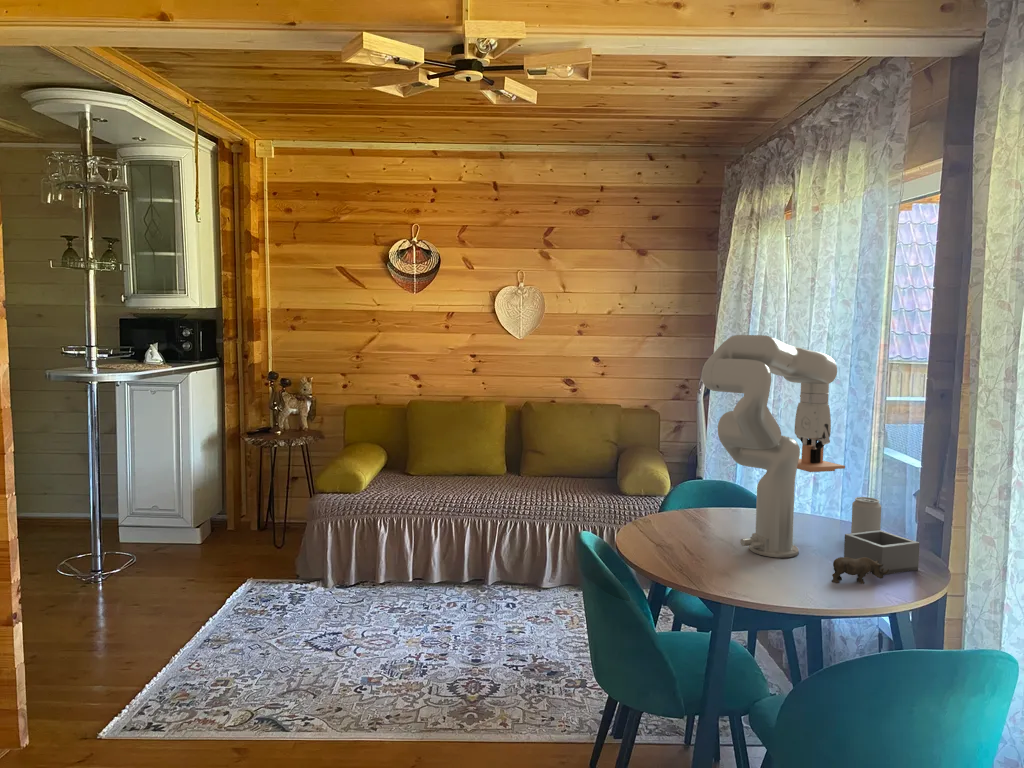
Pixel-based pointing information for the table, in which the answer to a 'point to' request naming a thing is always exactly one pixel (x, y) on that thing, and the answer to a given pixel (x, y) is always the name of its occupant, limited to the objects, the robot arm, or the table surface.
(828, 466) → the lid
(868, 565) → the rhino figurine
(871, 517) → the can
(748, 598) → the table surface
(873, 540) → the tub
